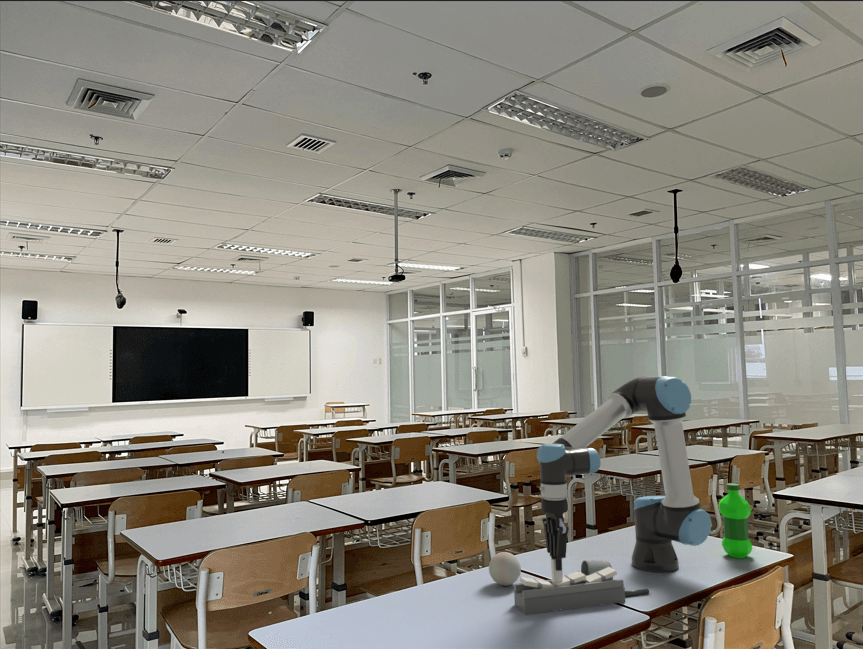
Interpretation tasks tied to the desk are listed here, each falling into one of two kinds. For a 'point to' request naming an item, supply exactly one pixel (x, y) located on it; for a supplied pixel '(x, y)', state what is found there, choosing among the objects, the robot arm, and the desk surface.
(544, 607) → the power strip
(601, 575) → the rocker
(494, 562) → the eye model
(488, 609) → the desk surface
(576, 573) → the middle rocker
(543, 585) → the end rocker
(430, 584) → the desk surface
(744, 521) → the plastic bottle
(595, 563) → the ceramic mug
